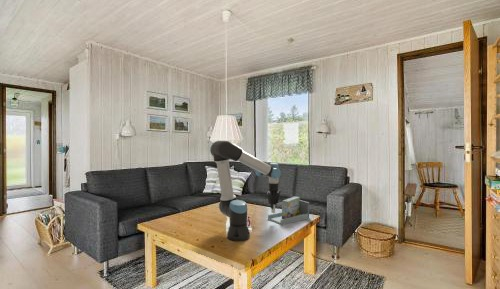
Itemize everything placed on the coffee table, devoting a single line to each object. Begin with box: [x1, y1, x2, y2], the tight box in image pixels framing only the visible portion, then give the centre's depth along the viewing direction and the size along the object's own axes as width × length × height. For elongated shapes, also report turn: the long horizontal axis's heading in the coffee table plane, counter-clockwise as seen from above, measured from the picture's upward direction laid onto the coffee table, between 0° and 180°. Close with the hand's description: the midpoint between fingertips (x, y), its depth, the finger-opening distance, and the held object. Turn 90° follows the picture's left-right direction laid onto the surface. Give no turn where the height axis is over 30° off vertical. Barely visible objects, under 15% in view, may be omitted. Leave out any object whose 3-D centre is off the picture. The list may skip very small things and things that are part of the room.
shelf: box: [267, 199, 310, 226], centre depth 210 cm, size 30×17×13 cm, turn 124°
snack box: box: [281, 196, 301, 219], centre depth 212 cm, size 21×6×15 cm, turn 142°
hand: (273, 212), depth 201 cm, fingers closed
